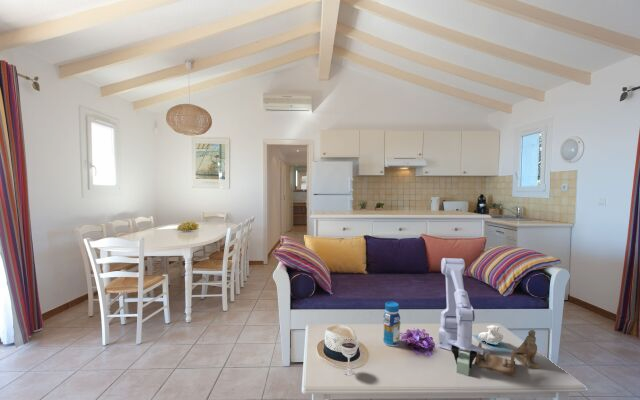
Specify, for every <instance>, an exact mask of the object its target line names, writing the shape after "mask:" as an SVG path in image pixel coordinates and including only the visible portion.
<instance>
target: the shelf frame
mask: <svg viewBox="0 0 640 400" xmlns="http://www.w3.org/2000/svg"><path fill="white" fill-rule="evenodd" d="M482 343H483V342H481V341H479V342H478V345H477V347H480V348H482V346H483V345H482ZM514 351H515V350H511V355H510V359H509V358H505V357H502V356H497V355H495V354H494V355H493V354H490V353H487V352H485V351H483V355H481V354H480V353H477V355H476V357H475V359H474V361H473V362H474V363H473V364H474V366H475V367H478V368H481V369H485V370H488V371H491V372H495V373H498V374H501V375H505V376H508V377H511V378H515V375H516V361H515V357H514Z"/></svg>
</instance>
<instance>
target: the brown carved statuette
mask: <svg viewBox="0 0 640 400" xmlns="http://www.w3.org/2000/svg"><path fill="white" fill-rule="evenodd" d="M527 334H528V335H526V337H525V339H524V341H523V343H521V344H520V346H519V347H518V348H517V349H515V350H513V351H514V359H516V360H517V361H518V362H520V364H522V365H523V366H525V367H526V368H527V369H529V370H539V365H538V364H537V363H536V362H535V356H536V354H537V353H538V345H537V344H536V342H537V341H536V340H537V339H536V331H535V330H534V329H533V330H532V329H531V330H529V331H528V333H527Z"/></svg>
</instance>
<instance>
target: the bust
mask: <svg viewBox="0 0 640 400" xmlns="http://www.w3.org/2000/svg"><path fill="white" fill-rule="evenodd" d="M486 328H487V329H488V331H482V332H480V333H479V334H478V336H477V337H478V339H479V338H480V339H482V340H485V341H488V342H492V343H494V342H496V343H497V342H500V341H501V342H502V340H503V339H504V335H503V333H501V332H499V330H500V326H498V325H495V324H491V325H486ZM501 342H500V343H501Z"/></svg>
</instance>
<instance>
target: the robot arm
mask: <svg viewBox="0 0 640 400" xmlns="http://www.w3.org/2000/svg"><path fill="white" fill-rule="evenodd" d="M440 262H441V263H440V271H441V274H442V275H444V276H445V292H446V293H445V295H446V308H444V309H443V310H441V312H440V327H439V329H438V344H437V346H438V348H440V349H441V348H442V349H444V350H447V351H448V350H449V351H451V352H452V355H453V356H454V357H453V358H454V360H455V365H457V359H458V355H459V352H460V351H470V352H469V353H470V364H469V368H470V369H472V367H473V364H474V363H473V362H474V361H475V359H476V355H477V353H480V354H481V355H483V352H484V348H480V347H478V345H475V344H473V343H472V342H473V340H472V338H473V322H475V319H476V318H475V317H476V315H475V309H474V308H473V305H472V304H471V303H470V297H469V295H468V294H469V293H468V291H466V290H465V287H464V285H465V284H464V279H463V275H464V273H465V269H466V263H465V260H464V259H463V258H461V257H460V258H456V257H455V258H451V257H450V258H448V257H442V259H441V261H440Z"/></svg>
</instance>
